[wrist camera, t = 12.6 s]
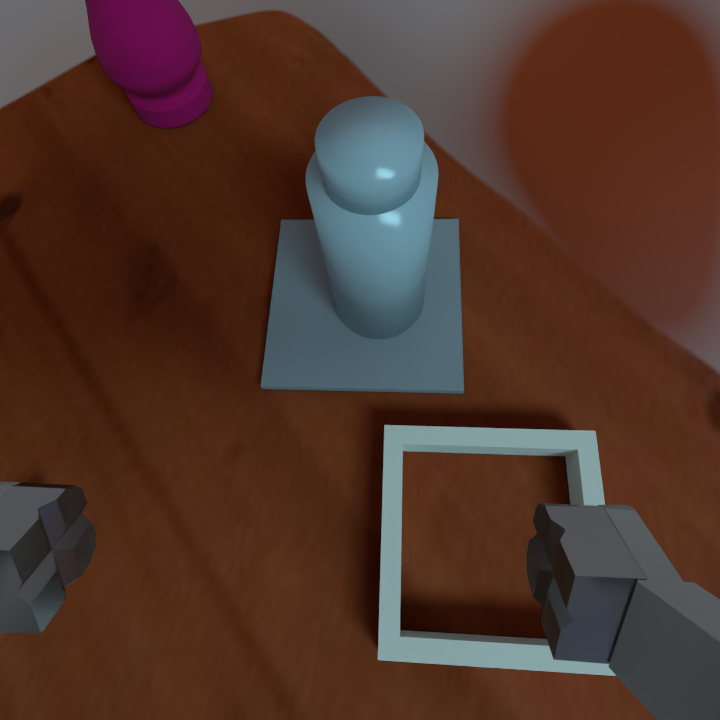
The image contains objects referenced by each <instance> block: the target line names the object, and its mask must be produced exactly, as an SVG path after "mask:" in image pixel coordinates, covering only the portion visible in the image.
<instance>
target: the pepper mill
mask: <svg viewBox="0 0 720 720" xmlns="http://www.w3.org/2000/svg"><path fill="white" fill-rule="evenodd" d="M85 2H86V7H87V14H88V21H89V28H90V34H91V40H92V43H93V46H94V49H95V52H96V55H97V58H98V60H99V62H100V64H101V66H102V68H103V70H104V72H105V73H106V74H107V76H108V77H109V78H110V79H111V80H112V81H113V82H114V83H115V84H117V85H118V86H119V87H121V88H123V89H125V90H126V93H127V96H128V98H129V100H130V102H131V104H132V105H133V107H134V109H135V110H136V112H137V114H138V115H139V117H140V118H141V119H142V120H143V121H145V122H146V123H147V124H150V125H152V126H154V127H159V128H176V127H180V126H183V125H186V124H188V123H190V122H192V121H194V120H196V119H197V118H198V117H200V116H201V115H202V114H203V113H204V112H205V110H206V109H207V108H208V107H209V105H210V102H211V99H212V94H213V90H212V86H211V83H210V80H209V78H208V75H207V73H206V70H205V68H204V66H203V65H202V63H201V62H200V61H199V60H200V56H201V41H200V37H199V34H198V32H197V30H196V28H195V26H194V24H193V22H192V20H191V18H190V16H189V14H188V13H187V12H186V10H185V9H184V8H183V6H182V5H181V3H180V2H179V1H178V0H85Z"/></svg>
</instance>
